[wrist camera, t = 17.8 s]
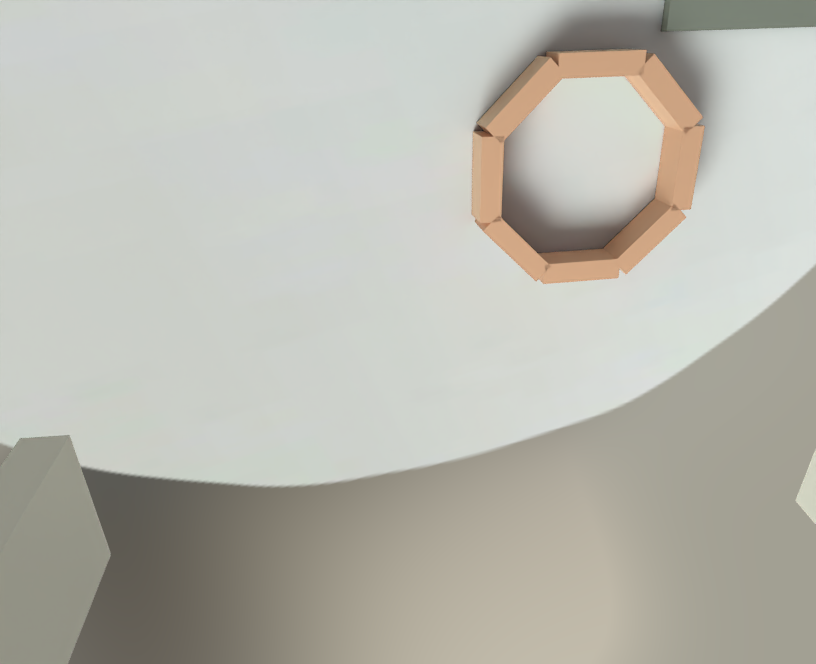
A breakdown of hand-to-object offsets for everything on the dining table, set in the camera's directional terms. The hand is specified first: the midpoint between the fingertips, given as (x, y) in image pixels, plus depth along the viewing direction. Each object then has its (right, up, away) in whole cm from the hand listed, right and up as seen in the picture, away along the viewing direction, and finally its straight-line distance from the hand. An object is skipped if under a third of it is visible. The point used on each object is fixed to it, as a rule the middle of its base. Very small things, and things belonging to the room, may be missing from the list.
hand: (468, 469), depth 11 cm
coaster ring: (+9, +12, +26) cm, 29 cm away
